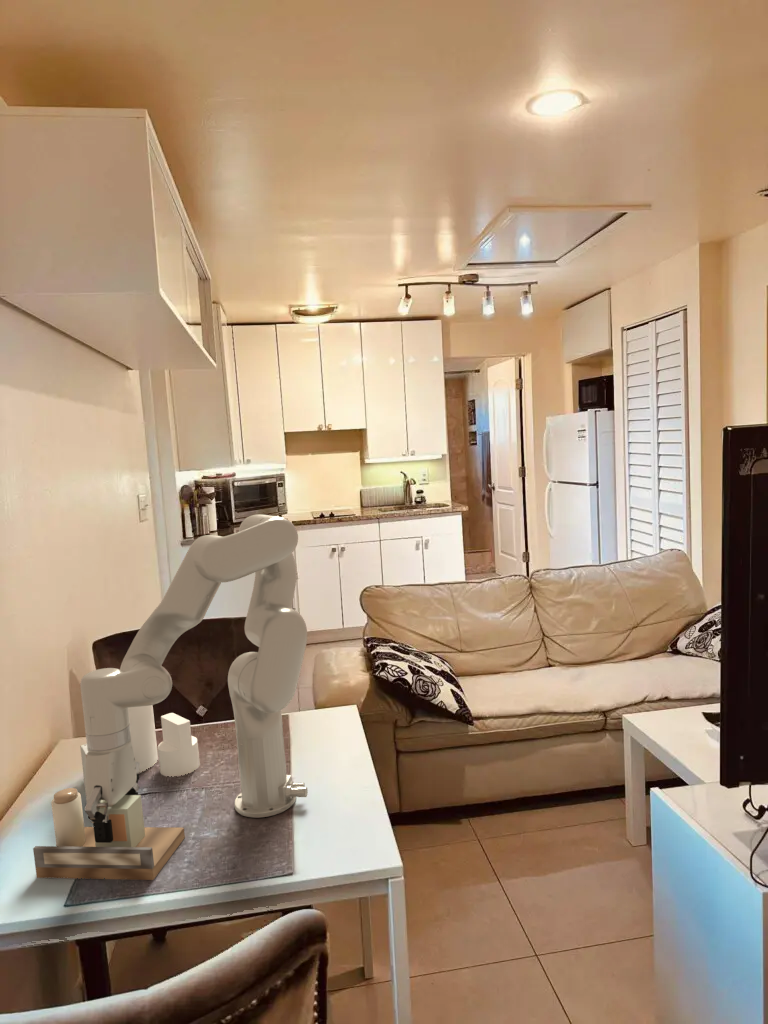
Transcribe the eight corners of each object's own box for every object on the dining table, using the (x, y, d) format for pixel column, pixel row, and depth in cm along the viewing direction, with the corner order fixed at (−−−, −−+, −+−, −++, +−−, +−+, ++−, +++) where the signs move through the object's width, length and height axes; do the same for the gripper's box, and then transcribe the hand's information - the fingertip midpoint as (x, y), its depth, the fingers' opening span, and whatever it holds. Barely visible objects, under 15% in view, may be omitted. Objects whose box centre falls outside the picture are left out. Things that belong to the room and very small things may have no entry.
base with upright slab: (153, 769, 162) (148, 720, 161) (188, 755, 168) (183, 708, 167) (171, 780, 156) (166, 729, 155) (206, 766, 162) (202, 716, 161)
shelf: (184, 837, 131) (182, 810, 131) (153, 880, 118) (149, 850, 118) (78, 836, 134) (75, 809, 134) (35, 878, 121) (32, 849, 121)
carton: (110, 835, 130) (106, 794, 130) (145, 835, 129) (140, 795, 129) (95, 851, 125) (90, 809, 125) (131, 851, 124) (126, 809, 124)
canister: (85, 774, 162) (76, 692, 160) (124, 750, 174) (116, 673, 173) (133, 779, 157) (124, 695, 156) (169, 754, 170) (161, 675, 168)
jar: (91, 837, 130) (85, 786, 129) (76, 852, 125) (70, 800, 124) (66, 836, 131) (61, 786, 130) (50, 852, 126) (44, 800, 125)
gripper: (114, 719, 134) (123, 802, 136) (61, 759, 117) (72, 853, 119) (150, 718, 133) (158, 802, 135) (102, 758, 116) (113, 854, 118)
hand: (118, 826), depth 127 cm, fingers open, 9 cm apart
